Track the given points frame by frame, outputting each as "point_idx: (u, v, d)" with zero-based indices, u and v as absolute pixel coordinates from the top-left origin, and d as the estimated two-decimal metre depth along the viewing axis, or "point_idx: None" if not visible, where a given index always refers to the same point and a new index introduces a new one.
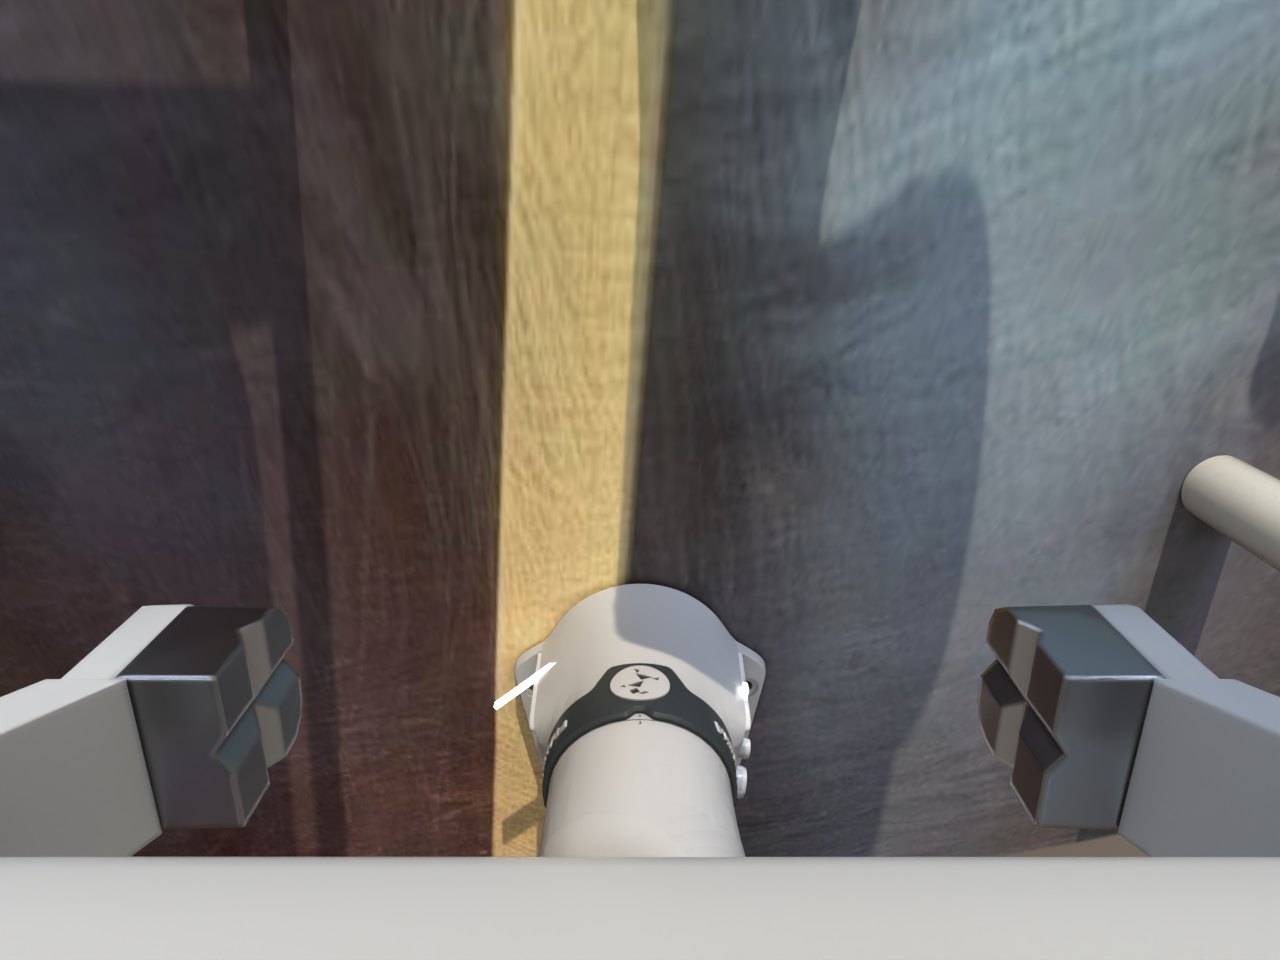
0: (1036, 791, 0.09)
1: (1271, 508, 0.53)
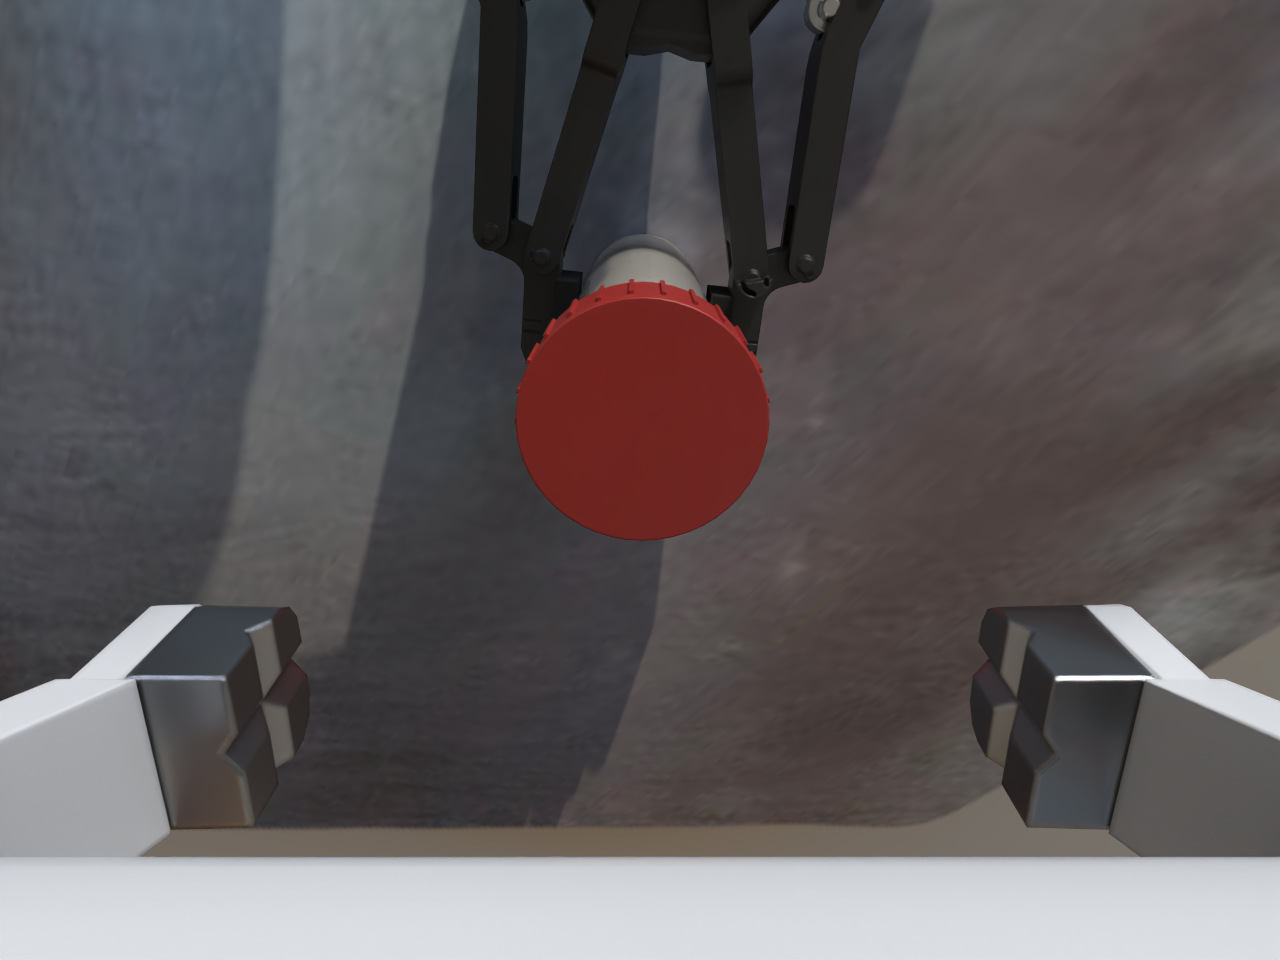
0: (1027, 791, 0.09)
1: (603, 265, 0.30)
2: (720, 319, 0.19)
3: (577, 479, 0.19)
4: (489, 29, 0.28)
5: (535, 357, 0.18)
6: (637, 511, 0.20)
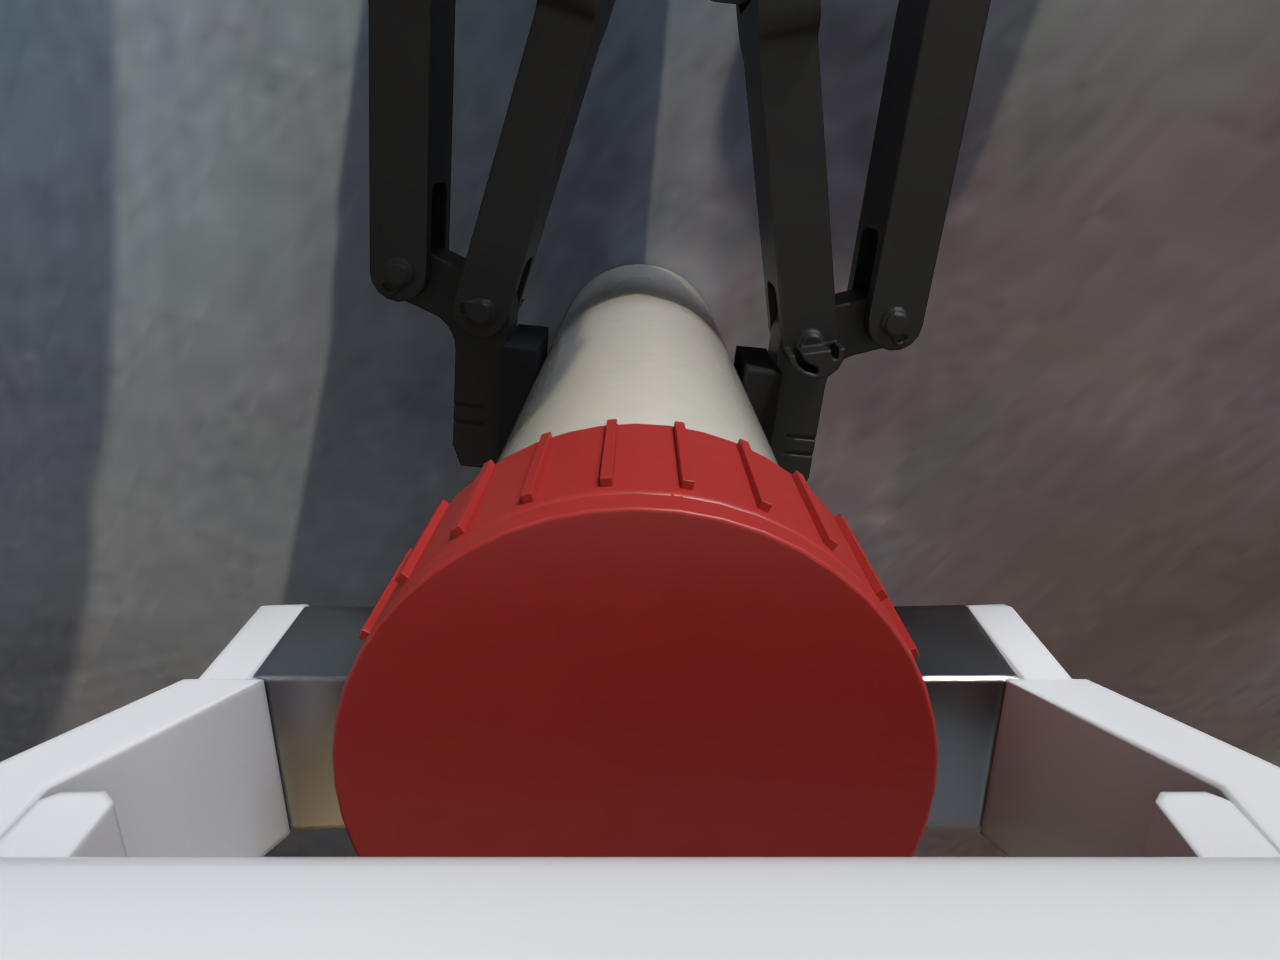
0: None
1: (577, 324, 0.19)
2: (824, 544, 0.08)
3: None
4: None
5: (369, 645, 0.07)
6: None
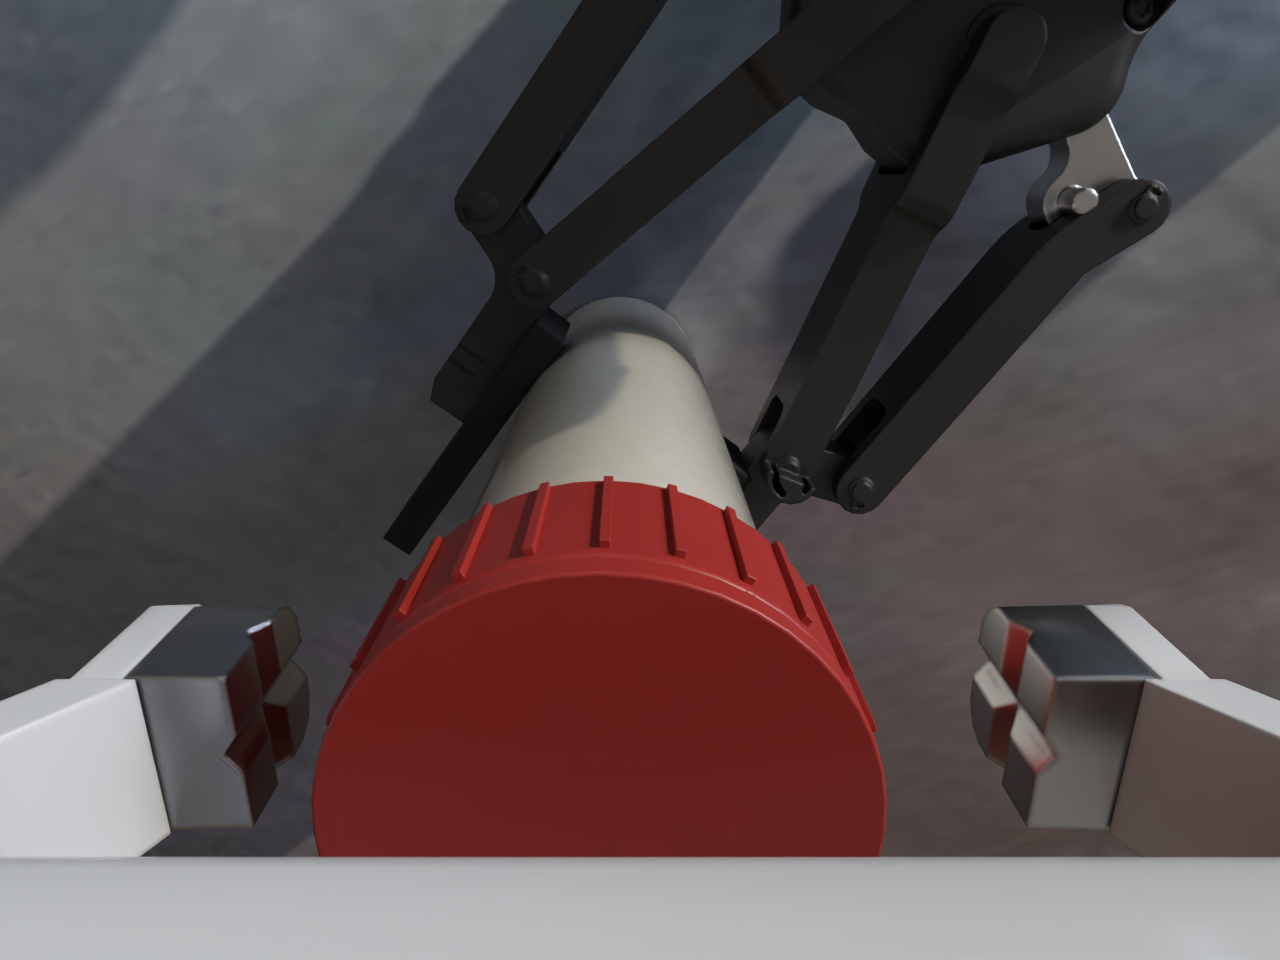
0: (1027, 791, 0.09)
1: (610, 342, 0.20)
2: (598, 548, 0.08)
3: None
4: None
5: (320, 849, 0.08)
6: None
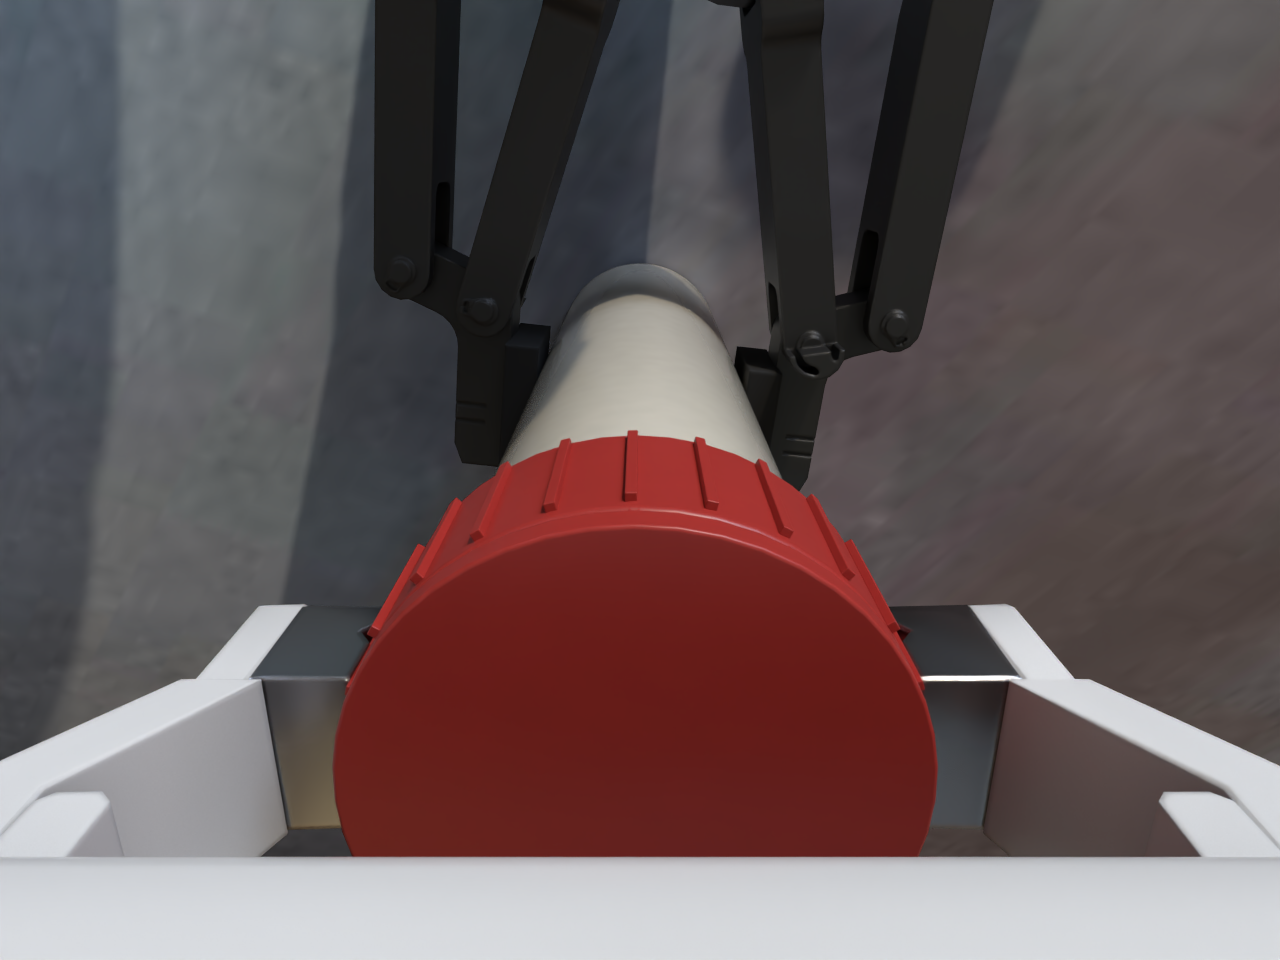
0: None
1: (578, 324, 0.19)
2: (472, 542, 0.08)
3: None
4: None
5: None
6: None
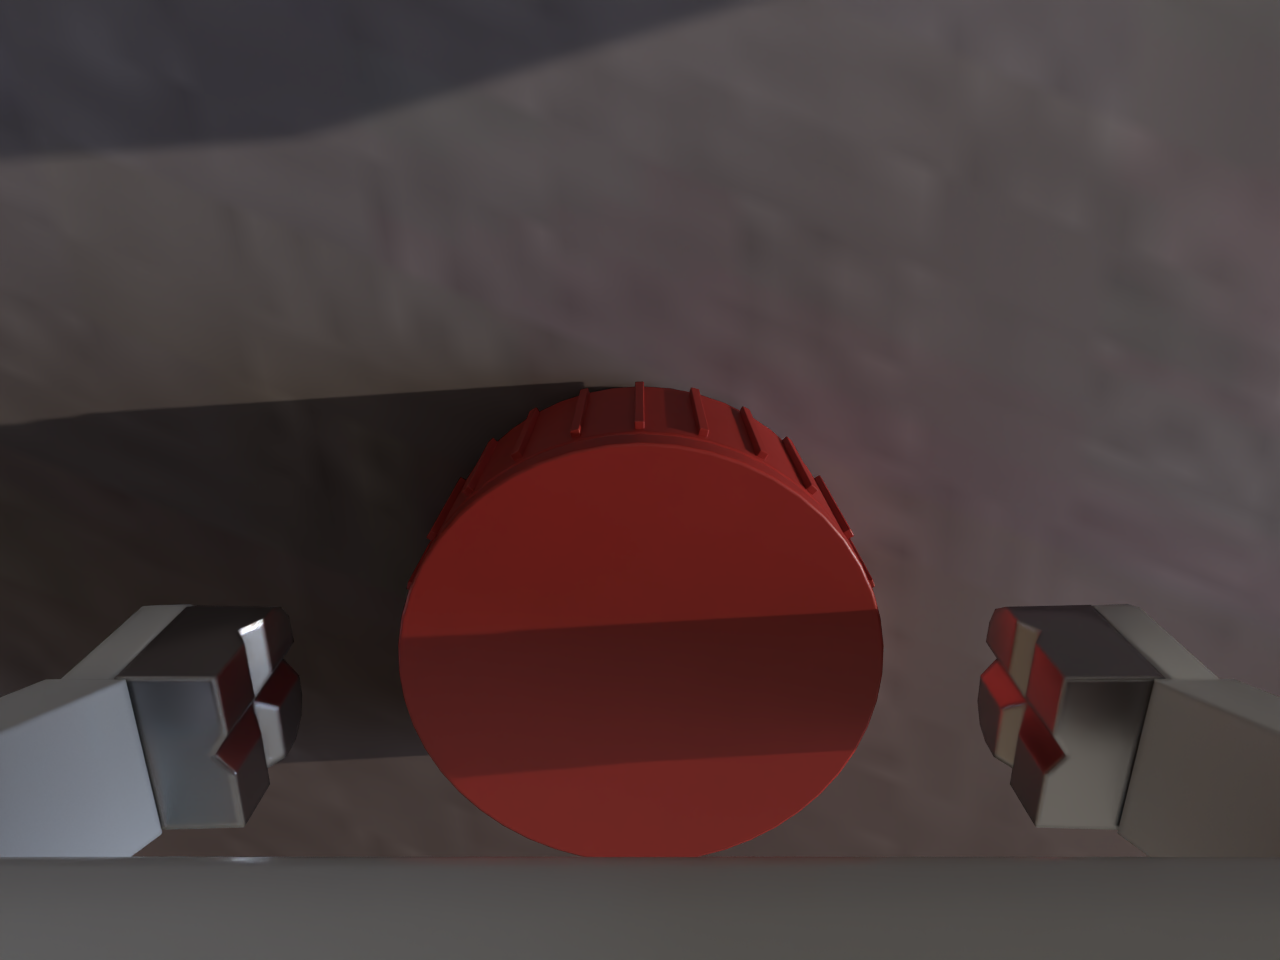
0: (1036, 792, 0.09)
1: None
2: (513, 461, 0.10)
3: (690, 803, 0.11)
4: None
5: (453, 782, 0.10)
6: (796, 738, 0.10)
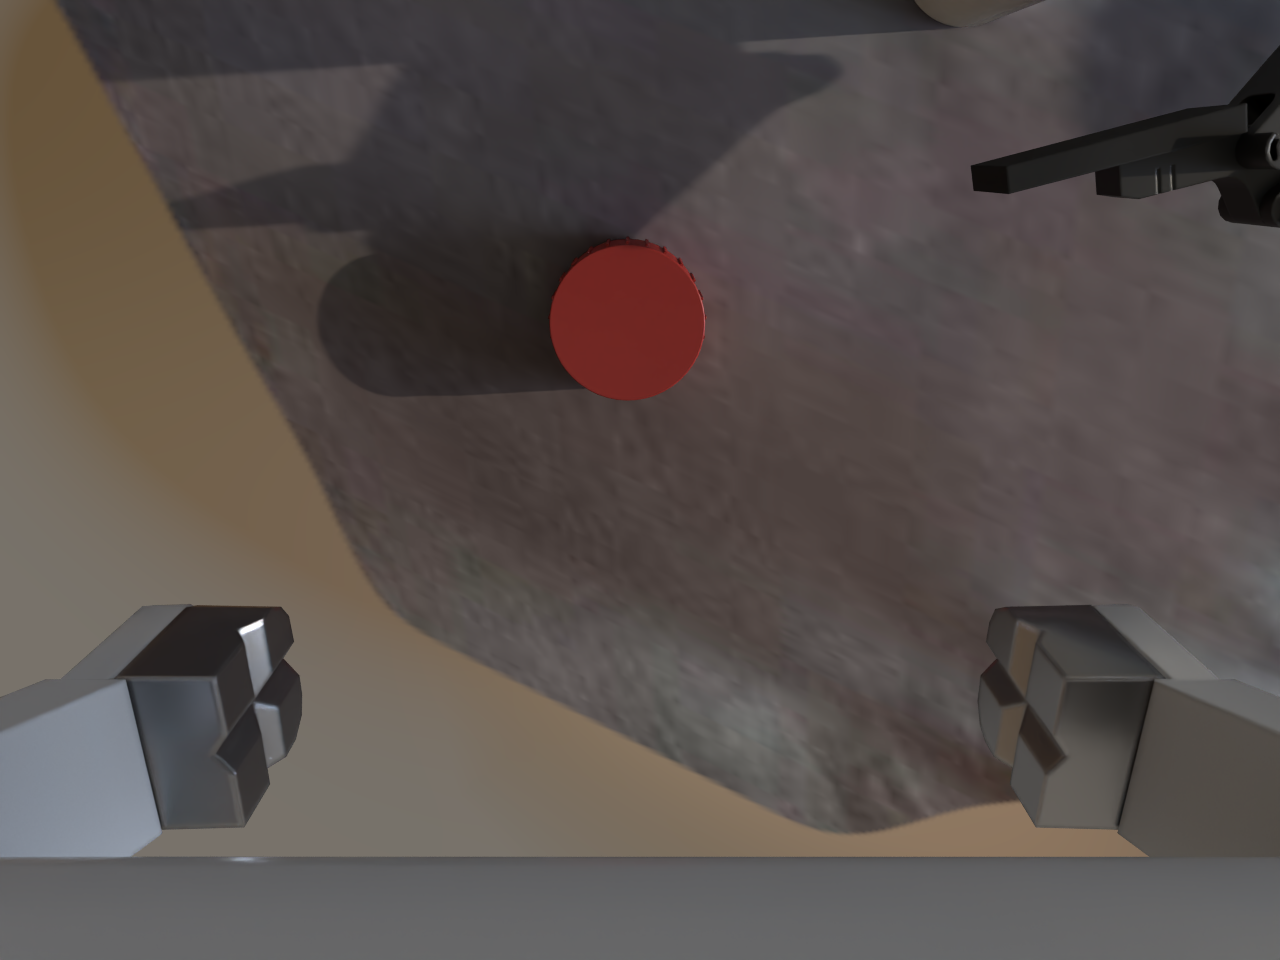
0: (1036, 791, 0.09)
1: None
2: (587, 254, 0.30)
3: (643, 375, 0.31)
4: None
5: (564, 366, 0.31)
6: (678, 350, 0.31)
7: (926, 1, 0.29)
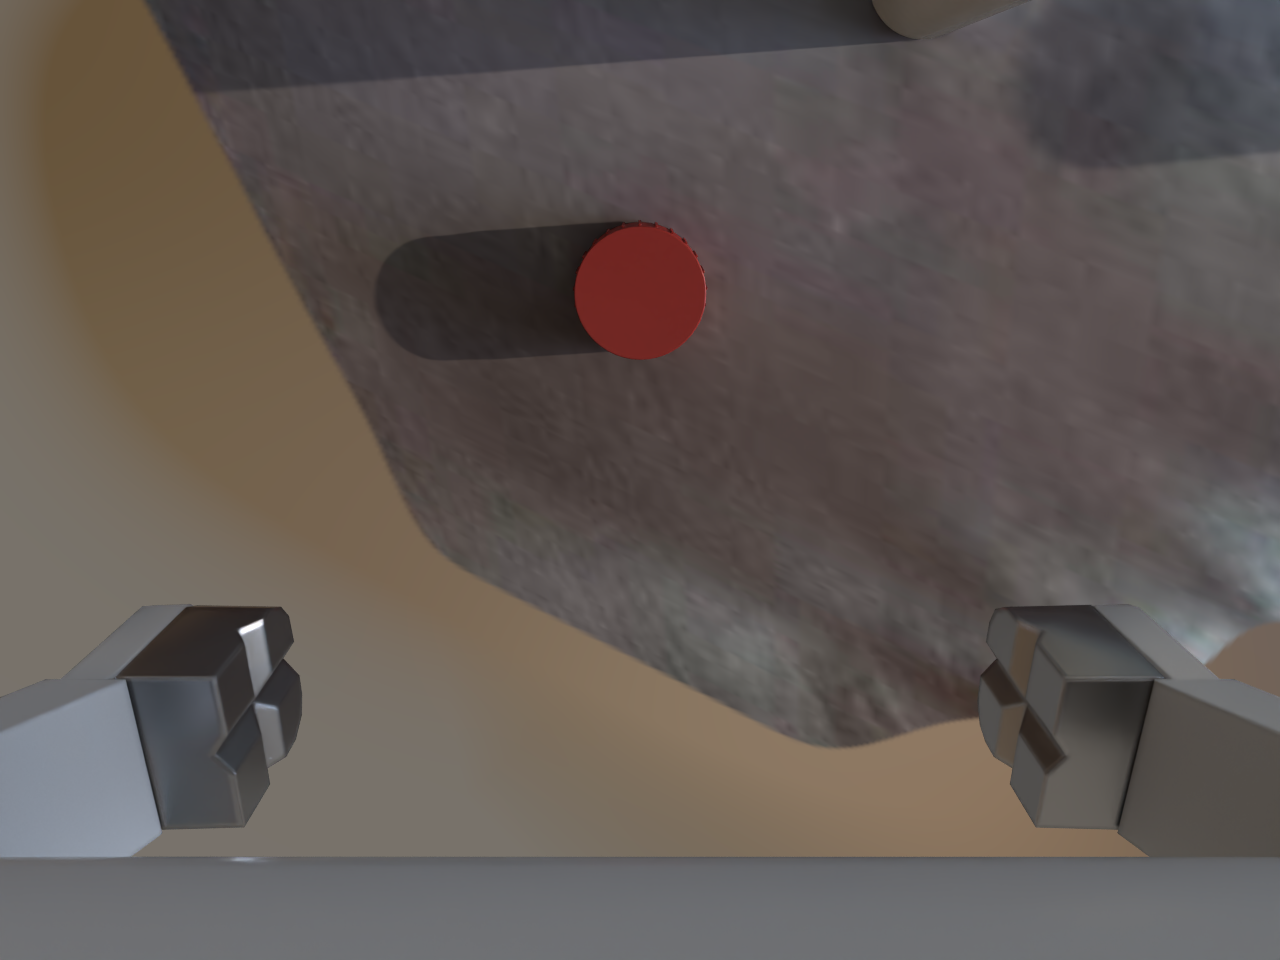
0: (1036, 792, 0.09)
1: None
2: (606, 234, 0.36)
3: (654, 337, 0.37)
4: None
5: (587, 330, 0.37)
6: (683, 315, 0.37)
7: (889, 18, 0.34)
